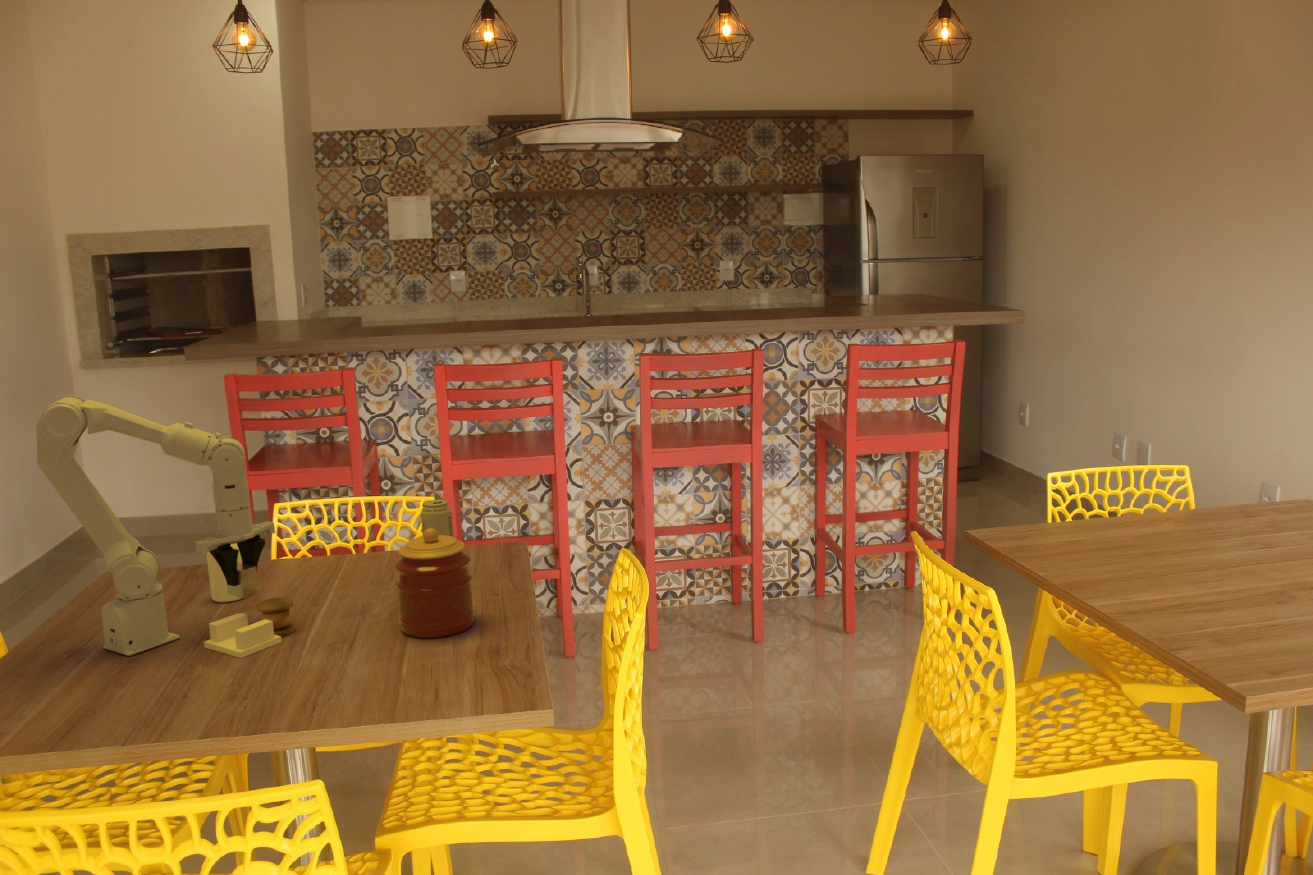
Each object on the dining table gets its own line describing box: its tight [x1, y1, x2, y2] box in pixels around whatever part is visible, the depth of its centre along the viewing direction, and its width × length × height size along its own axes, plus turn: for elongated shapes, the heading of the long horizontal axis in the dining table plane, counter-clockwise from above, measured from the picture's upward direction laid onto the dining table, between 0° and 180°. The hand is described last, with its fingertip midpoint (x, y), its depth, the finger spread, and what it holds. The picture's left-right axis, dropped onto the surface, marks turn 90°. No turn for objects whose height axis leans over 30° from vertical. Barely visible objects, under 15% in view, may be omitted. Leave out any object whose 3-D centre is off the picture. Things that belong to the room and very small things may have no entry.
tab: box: [226, 563, 259, 599], centre depth 186 cm, size 3×4×5 cm, turn 57°
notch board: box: [203, 612, 282, 659], centre depth 179 cm, size 8×10×4 cm
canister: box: [394, 528, 476, 639], centre depth 183 cm, size 13×13×18 cm
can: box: [205, 543, 244, 604], centre depth 204 cm, size 6×6×12 cm
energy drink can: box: [420, 499, 454, 537], centre depth 213 cm, size 6×6×15 cm
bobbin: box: [256, 597, 297, 638], centre depth 185 cm, size 6×6×5 cm
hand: (241, 582), depth 186 cm, fingers closed on tab, 3 cm apart
